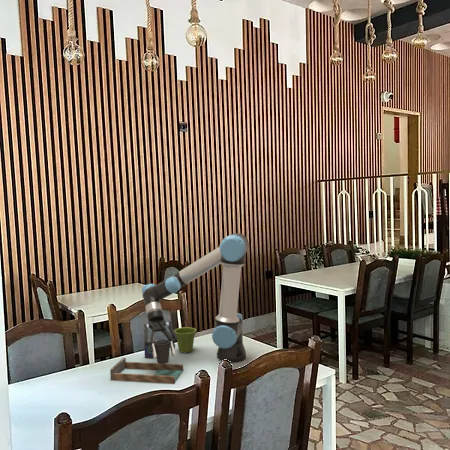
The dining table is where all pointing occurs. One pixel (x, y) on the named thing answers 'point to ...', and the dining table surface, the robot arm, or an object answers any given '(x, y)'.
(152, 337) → the robot arm
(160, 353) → the coffee cup
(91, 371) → the dining table surface
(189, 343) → the plant pot
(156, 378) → the tray
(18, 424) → the dining table surface
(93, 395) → the dining table surface
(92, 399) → the dining table surface
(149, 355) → the flask
